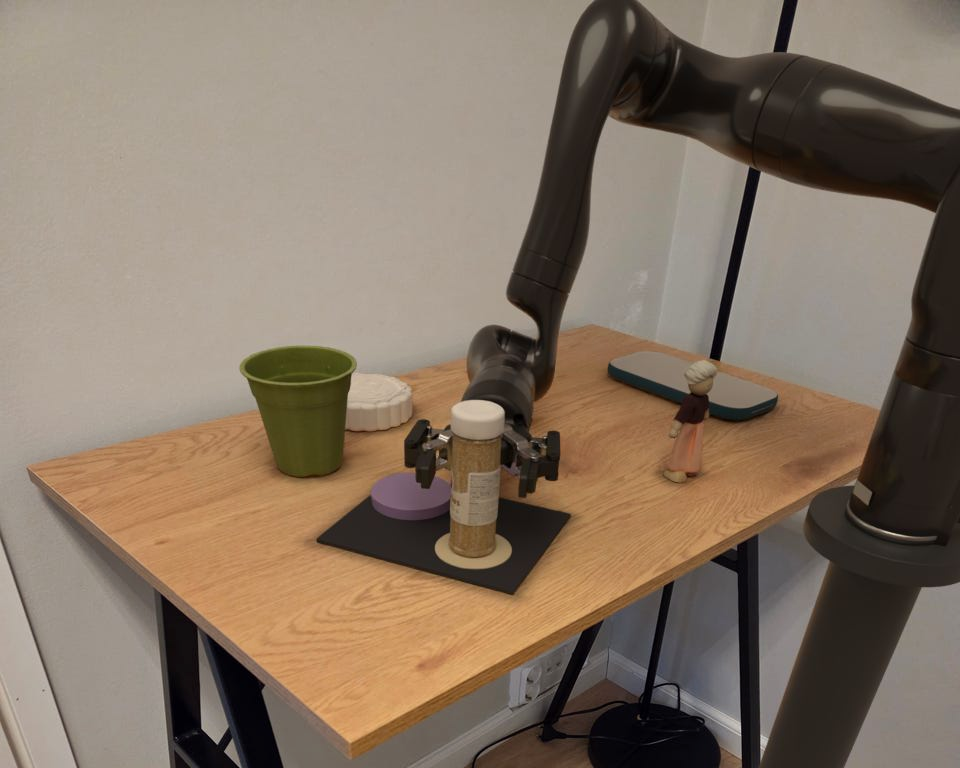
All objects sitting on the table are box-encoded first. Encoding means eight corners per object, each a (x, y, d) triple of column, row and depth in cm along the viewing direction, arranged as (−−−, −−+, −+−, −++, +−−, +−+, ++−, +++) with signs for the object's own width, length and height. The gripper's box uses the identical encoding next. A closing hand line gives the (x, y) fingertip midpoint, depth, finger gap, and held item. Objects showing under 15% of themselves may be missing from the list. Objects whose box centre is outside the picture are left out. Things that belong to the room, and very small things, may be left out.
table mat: (570, 517, 83) (571, 512, 83) (512, 595, 71) (513, 590, 71) (396, 476, 89) (396, 472, 89) (316, 542, 77) (316, 537, 77)
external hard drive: (597, 376, 118) (599, 362, 117) (648, 361, 124) (650, 347, 123) (735, 427, 104) (739, 412, 103) (784, 408, 110) (788, 393, 109)
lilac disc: (466, 493, 85) (466, 482, 85) (431, 528, 79) (431, 517, 79) (395, 476, 88) (395, 466, 87) (355, 509, 82) (355, 498, 81)
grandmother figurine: (688, 489, 89) (712, 374, 81) (654, 481, 90) (675, 366, 83) (708, 465, 94) (733, 354, 87) (676, 457, 96) (698, 347, 88)
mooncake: (362, 441, 96) (360, 411, 94) (296, 413, 102) (294, 384, 100) (432, 414, 104) (432, 386, 101) (367, 390, 110) (366, 363, 108)
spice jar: (443, 537, 78) (445, 399, 70) (489, 532, 79) (496, 396, 71) (454, 561, 74) (458, 419, 66) (502, 556, 75) (511, 416, 67)
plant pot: (272, 439, 95) (260, 341, 89) (372, 447, 95) (367, 349, 88) (238, 484, 86) (221, 378, 79) (348, 493, 85) (341, 387, 79)
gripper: (426, 372, 81) (391, 435, 69) (568, 384, 80) (560, 450, 67) (426, 443, 86) (393, 514, 73) (561, 455, 85) (552, 530, 72)
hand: (473, 483), depth 70 cm, fingers open, 8 cm apart
